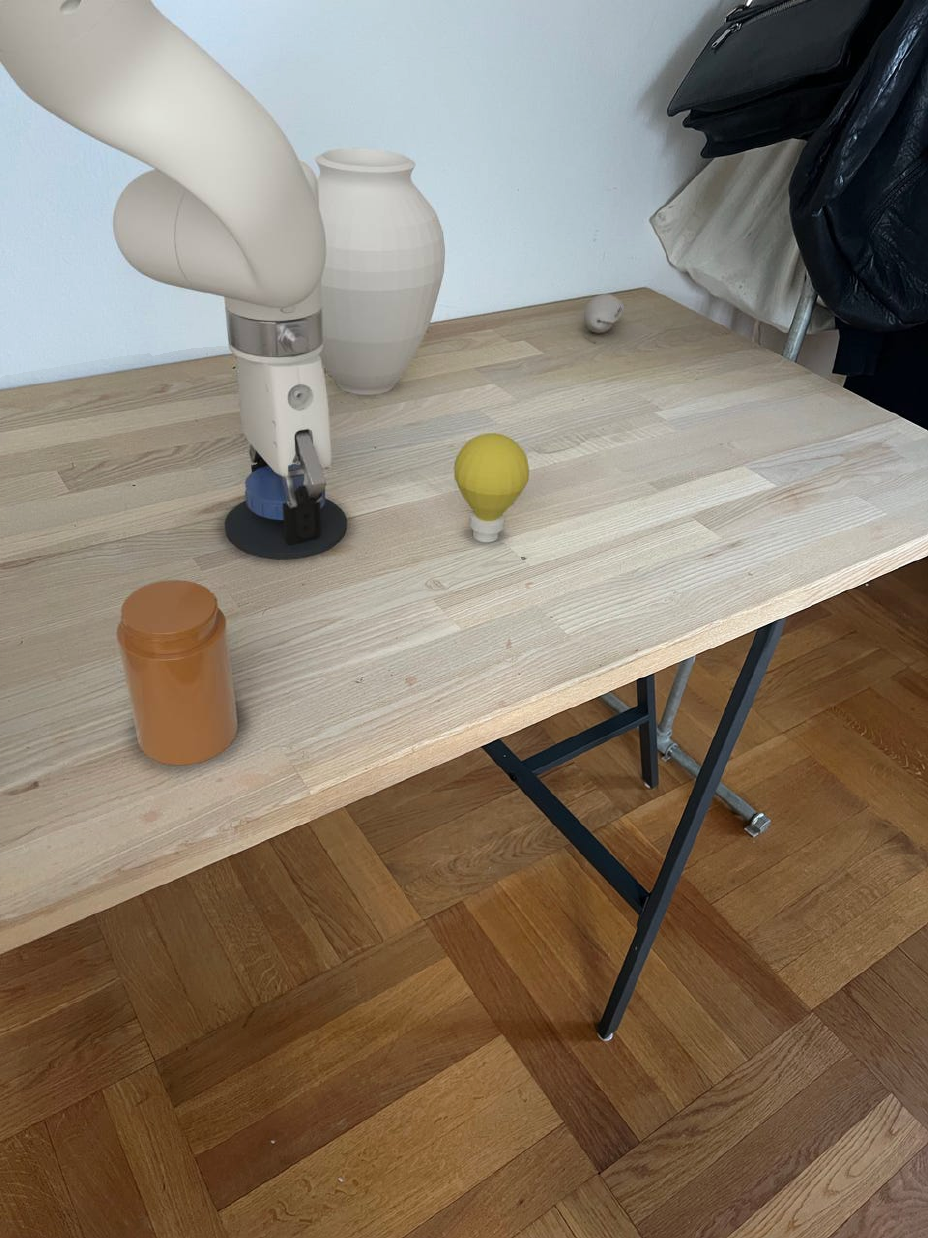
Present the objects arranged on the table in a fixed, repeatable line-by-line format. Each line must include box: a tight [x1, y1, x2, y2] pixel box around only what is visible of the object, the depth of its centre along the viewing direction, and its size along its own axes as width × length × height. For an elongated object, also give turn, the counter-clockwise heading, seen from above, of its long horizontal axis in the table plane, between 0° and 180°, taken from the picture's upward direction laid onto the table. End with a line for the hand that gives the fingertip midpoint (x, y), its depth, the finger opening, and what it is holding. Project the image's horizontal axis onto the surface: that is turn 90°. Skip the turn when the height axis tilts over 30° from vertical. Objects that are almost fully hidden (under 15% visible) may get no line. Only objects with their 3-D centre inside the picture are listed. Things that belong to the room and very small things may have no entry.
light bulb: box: [453, 432, 530, 543], centre depth 83 cm, size 7×7×10 cm
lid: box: [244, 463, 326, 520], centre depth 83 cm, size 7×7×2 cm
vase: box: [314, 147, 446, 396], centre depth 105 cm, size 18×18×25 cm
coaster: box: [224, 498, 348, 560], centre depth 85 cm, size 11×11×1 cm
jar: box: [116, 579, 239, 766], centre depth 60 cm, size 7×7×11 cm
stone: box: [583, 293, 625, 334], centre depth 131 cm, size 10×5×5 cm, turn 165°
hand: (286, 518), depth 85 cm, fingers closed on lid, 6 cm apart
